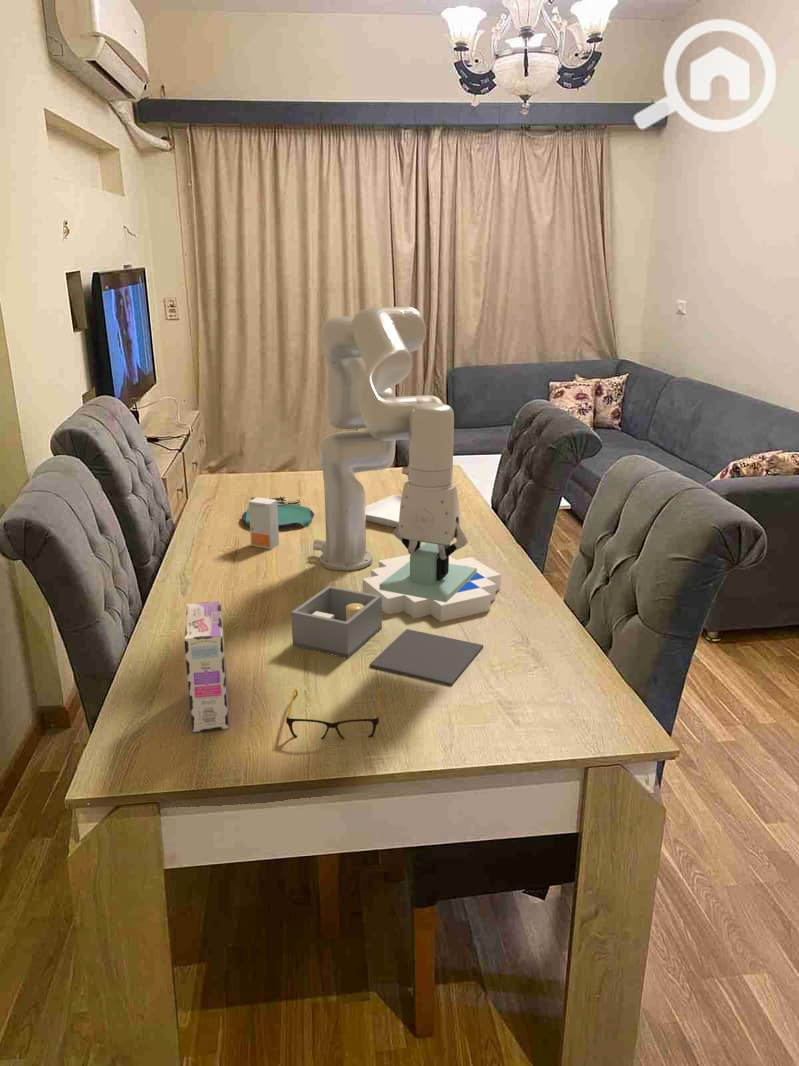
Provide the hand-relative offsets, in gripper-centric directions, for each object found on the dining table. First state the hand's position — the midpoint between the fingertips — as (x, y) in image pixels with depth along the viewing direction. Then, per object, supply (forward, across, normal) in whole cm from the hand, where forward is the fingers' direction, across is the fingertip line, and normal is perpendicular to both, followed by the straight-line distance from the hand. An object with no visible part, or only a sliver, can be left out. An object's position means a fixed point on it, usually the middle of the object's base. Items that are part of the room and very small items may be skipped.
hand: (429, 574), depth 147 cm
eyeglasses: (+17, -6, -25) cm, 31 cm away
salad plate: (+17, -38, +72) cm, 83 cm away
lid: (+1, 0, 0) cm, 1 cm away
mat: (+16, 0, 0) cm, 16 cm away
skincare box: (+16, -61, +37) cm, 73 cm away
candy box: (+17, -25, -32) cm, 44 cm away
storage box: (+16, -19, 0) cm, 25 cm away
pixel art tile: (+17, -11, +28) cm, 35 cm away
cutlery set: (+17, -72, +60) cm, 96 cm away
